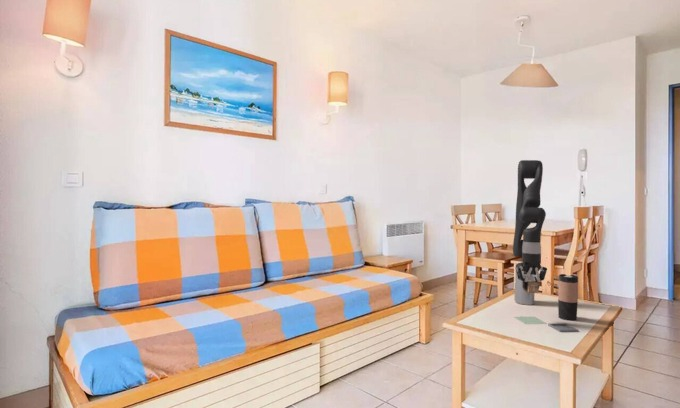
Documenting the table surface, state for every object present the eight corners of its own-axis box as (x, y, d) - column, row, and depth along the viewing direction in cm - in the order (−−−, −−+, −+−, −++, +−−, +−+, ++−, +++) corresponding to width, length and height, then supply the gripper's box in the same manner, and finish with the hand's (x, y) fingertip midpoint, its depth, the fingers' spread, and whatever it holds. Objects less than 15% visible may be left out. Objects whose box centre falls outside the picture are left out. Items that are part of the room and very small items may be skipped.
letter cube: (523, 290, 174) (523, 280, 173) (532, 290, 174) (532, 280, 174) (528, 292, 169) (529, 282, 169) (538, 292, 169) (538, 282, 169)
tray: (548, 326, 165) (548, 323, 165) (565, 326, 166) (565, 323, 166) (560, 332, 157) (560, 330, 157) (578, 332, 158) (578, 329, 158)
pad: (513, 317, 177) (513, 316, 177) (534, 317, 177) (534, 316, 177) (525, 325, 167) (525, 324, 167) (547, 324, 167) (547, 323, 167)
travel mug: (567, 322, 170) (568, 277, 170) (553, 317, 178) (554, 274, 177) (581, 321, 173) (582, 277, 172) (567, 315, 180) (568, 273, 179)
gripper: (541, 250, 175) (541, 287, 176) (511, 250, 174) (511, 287, 175) (552, 253, 168) (551, 291, 168) (520, 253, 167) (520, 292, 167)
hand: (530, 289), depth 172 cm, fingers closed on letter cube, 4 cm apart
